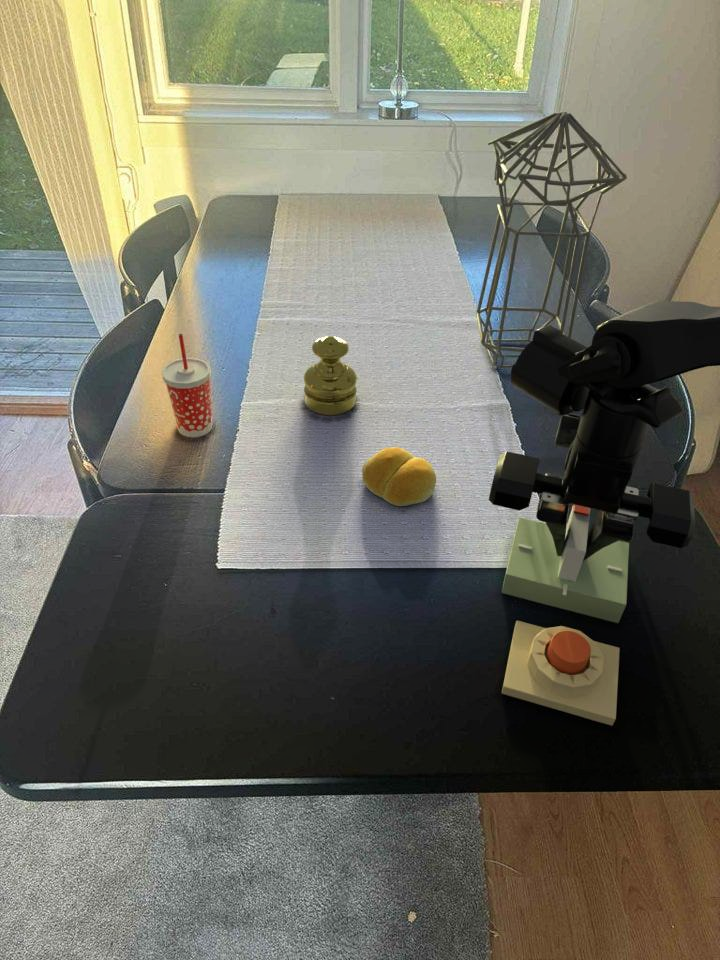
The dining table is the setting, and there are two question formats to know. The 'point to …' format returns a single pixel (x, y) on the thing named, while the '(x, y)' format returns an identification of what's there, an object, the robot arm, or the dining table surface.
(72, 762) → the dining table surface
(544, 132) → the geometric lantern
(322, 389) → the gold tiered piece
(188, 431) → the beverage cup
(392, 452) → the bread roll
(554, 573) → the panel
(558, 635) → the button
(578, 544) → the white switch lever
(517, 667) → the button box
